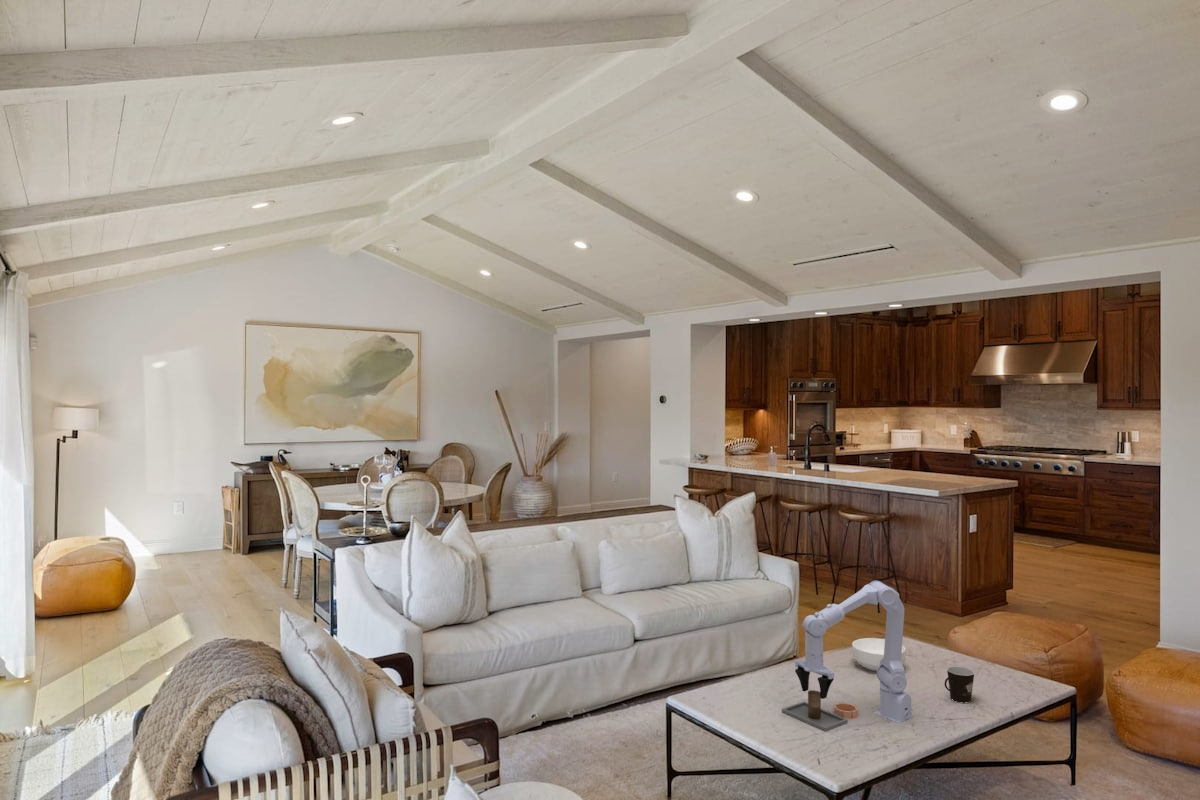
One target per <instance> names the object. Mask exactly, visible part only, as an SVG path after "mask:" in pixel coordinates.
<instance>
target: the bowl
mask: <svg viewBox="0 0 1200 800" xmlns="http://www.w3.org/2000/svg"><path fill="white" fill-rule="evenodd" d="M884 647H885V638H880V637H879V638H877V637H864V638H863V637H862V638H859V639H855V640H854V641H852V643H851V652H852V653H851V654H852V657H853V658H854V659H855V661H856V662H857V663H858V664H859V665H860V666H862V667H863V668H865V669H866V670H871V671H873V672H877V669H878V668H879V666H880V660H881V659H883V658H884ZM906 652H907V651H906V647H905V646H904V645H903V644H902V654H901V663H902V665H904V663H906V656H907V655H906V654H907V653H906Z"/></svg>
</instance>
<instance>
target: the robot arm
mask: <svg viewBox="0 0 1200 800" xmlns="http://www.w3.org/2000/svg"><path fill="white" fill-rule="evenodd" d="M878 603H879V604H880V605H881V606H882V607H883V609H885V611H886V621H885V633H884V634H885V635H884V639H885V647H884V658H883V659H881V660H880V666H879V668H878V669H877V671H876V677H877V680H878V681H879V710H877V711H874V713H873V714H874V715H876V716H877V715H878V716H879V717H882V718H885V719H887V720H890V721H893V722H894V723H898V724H900V723H903V722H905V721H908V720H910V719H913V718H914V716H913V715H912V697H911V695H910V694H908V693H906V691H904V690H905V689H906V687H907V686H908V685H907V684H908V683H907V678H906V675H905V674H906V670H905V668H904V664H902V663H901V654H902V645H903V637H904V626H905V625H904V624H905V623H904V622H905V606H904V604H903V601H902V600H901V598H900V593H899V592H898V591H897V590H895V589H894V588H893V587H891V586H888V585H887V584H884V583H883V582H882V581H880V580H873V581H871V582H870V583H868V584H865V585H864V586H862V588H861V589H860V590H858V591H857V592H856V593H854V594H853V595H851V596H849V597H848V598H847V599H845V600H844V601H842V602H841V603H839V604H836V603H832V604H831V603H829V604H827V605H826V607H825V608H823V609H822V610H820V611H815V613H814V614H810V615H807V616H805V618H804V619H803V622H801V625H802V628H803V630H804V633H805V634H804V635H805V636H804V642H805V643H804V644H805V645H804V646H805V647H804V649H805V650H804V652H805V653H804V654H805V655H804V659H805V660H801V659H797V660H795V661H794V665H795V670H794V671H795V674H796V676H797V678H798V679H799V683H800V686H801V689H802V690H801V691H802V692H808V690H809V685H810V684H809V683H810V682H809V681H810V674H811V672H812V673H814V674H817V675H820V676H818V677H817V682H818V685H819V692H820V696H821V700H824V699H826V698H827V696H828V693H829V689H830V687H831V684H832V683H833V681H834V680H835V672H834V671H833V670H830V669H829V668H827V667H825V666H824V635H825V633H826V632H827V630H828V629H829V628H831V627H833V626H834V625H836V624H837V623H840V622H842V621H843V620H844V618H845V615H846V614H847V613H849V612H852V611H853V610H855V609H857V608H859V607H861V606H863V605H865V604H870V605H876V606H877V605H878Z"/></svg>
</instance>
